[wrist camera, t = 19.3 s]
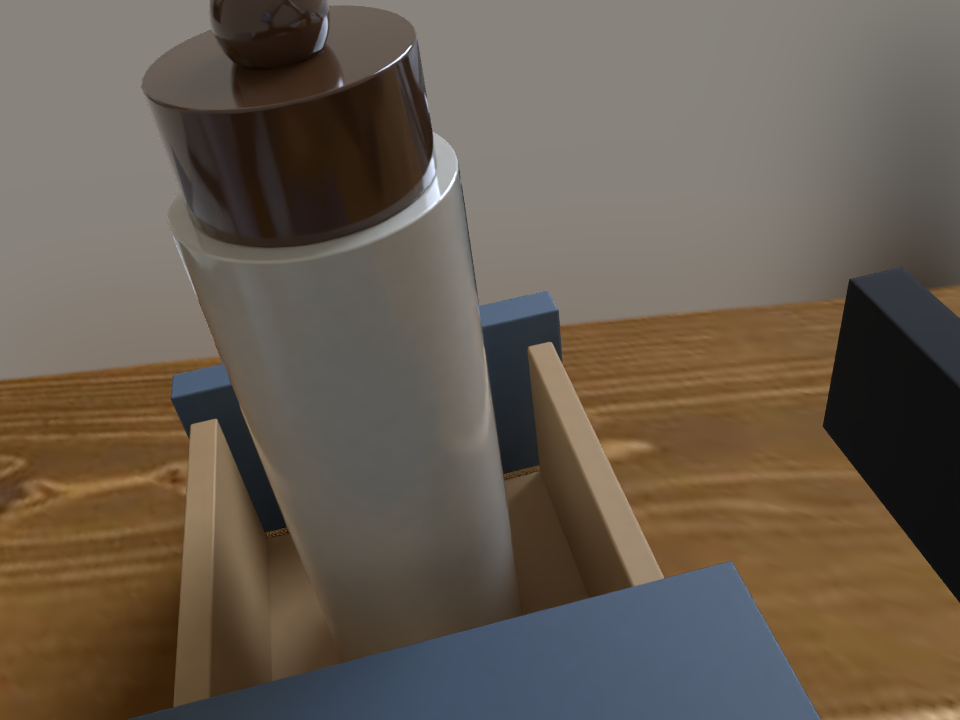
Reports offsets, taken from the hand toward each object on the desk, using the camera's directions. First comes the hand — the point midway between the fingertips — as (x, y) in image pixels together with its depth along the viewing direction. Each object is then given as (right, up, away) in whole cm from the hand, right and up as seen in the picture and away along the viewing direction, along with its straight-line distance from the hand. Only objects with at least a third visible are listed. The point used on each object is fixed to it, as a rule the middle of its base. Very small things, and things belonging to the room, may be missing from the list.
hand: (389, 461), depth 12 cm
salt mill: (0, -6, +14) cm, 15 cm away
